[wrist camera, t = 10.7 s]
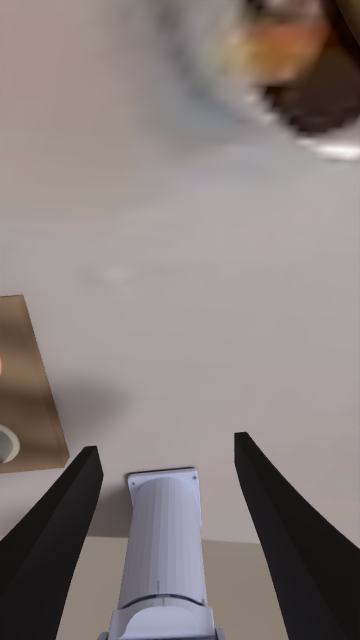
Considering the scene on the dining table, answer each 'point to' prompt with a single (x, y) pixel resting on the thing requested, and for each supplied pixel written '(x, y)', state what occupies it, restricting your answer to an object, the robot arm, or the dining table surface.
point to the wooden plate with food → (351, 16)
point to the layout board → (25, 397)
